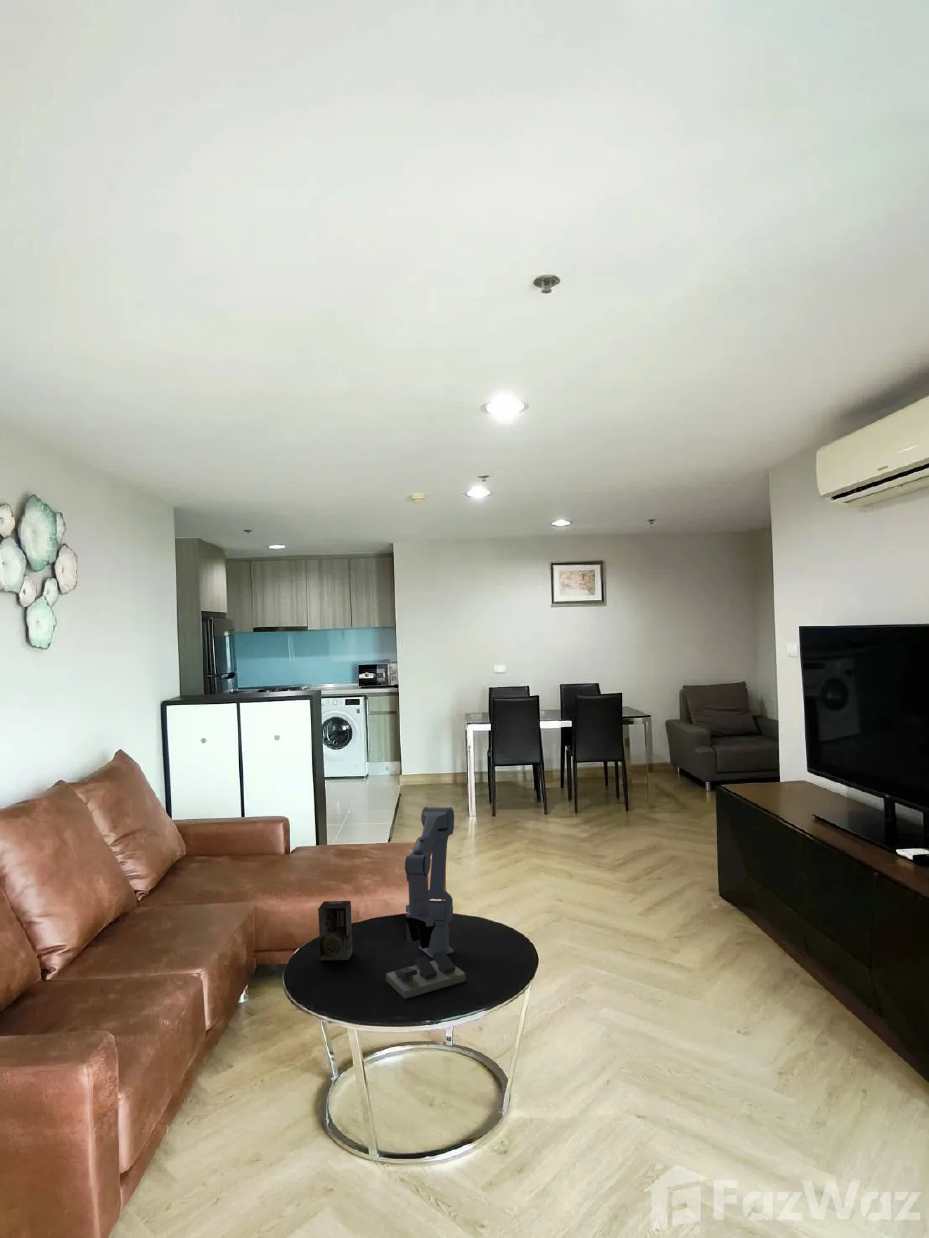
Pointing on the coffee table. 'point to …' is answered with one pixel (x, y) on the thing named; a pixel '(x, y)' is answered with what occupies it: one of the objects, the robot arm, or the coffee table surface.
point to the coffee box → (335, 930)
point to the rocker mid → (425, 967)
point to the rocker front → (406, 972)
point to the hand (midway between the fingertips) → (420, 943)
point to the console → (424, 981)
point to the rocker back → (444, 962)
